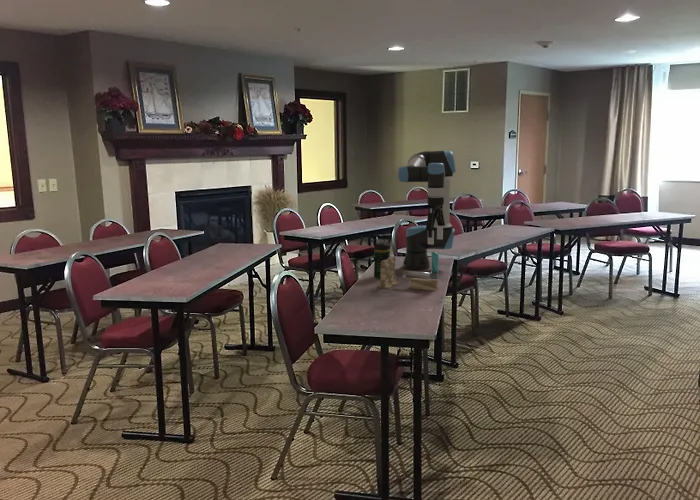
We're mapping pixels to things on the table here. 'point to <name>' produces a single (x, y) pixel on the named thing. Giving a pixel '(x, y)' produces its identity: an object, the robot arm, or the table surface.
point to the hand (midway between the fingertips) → (435, 241)
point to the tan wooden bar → (424, 284)
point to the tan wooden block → (388, 273)
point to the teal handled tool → (433, 274)
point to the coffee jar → (380, 256)
